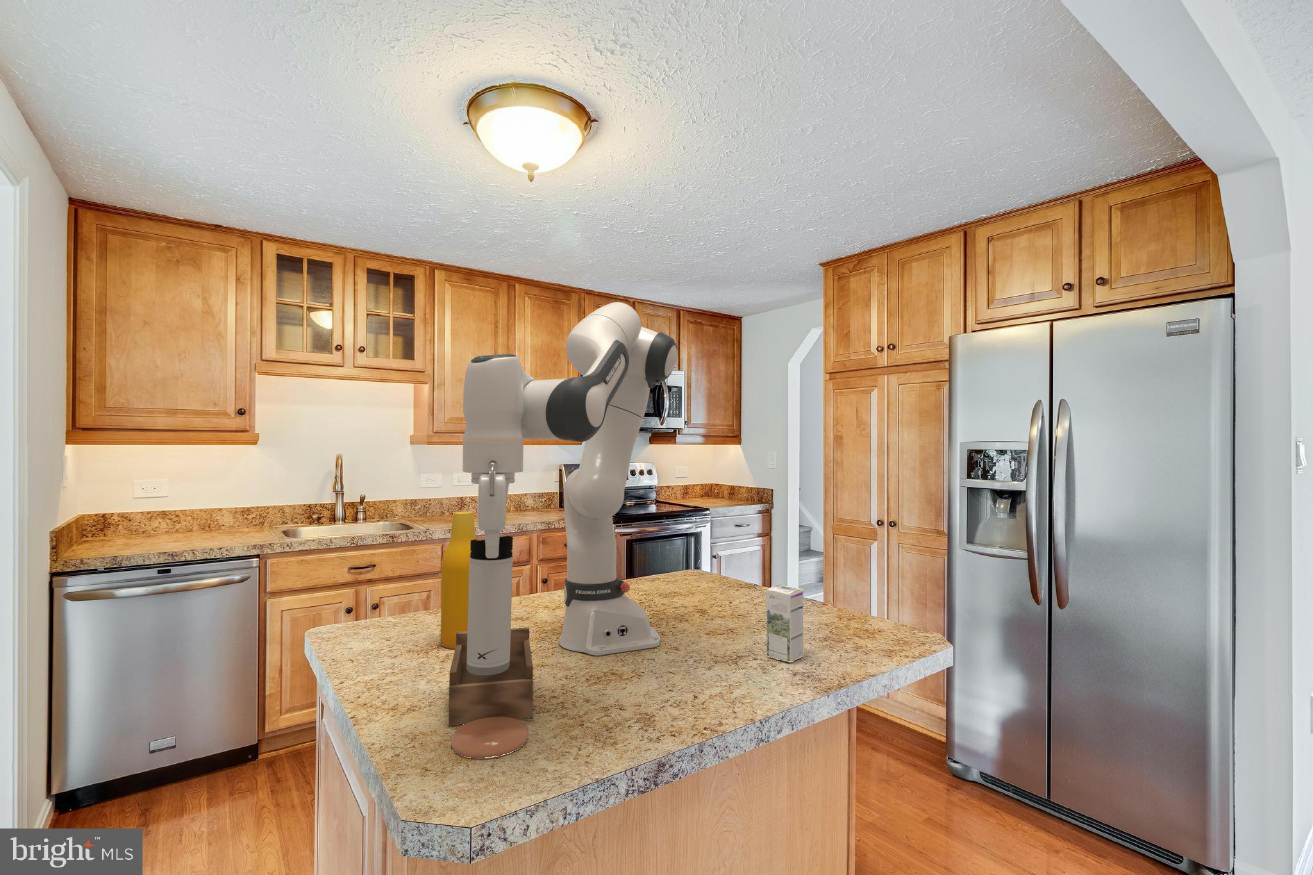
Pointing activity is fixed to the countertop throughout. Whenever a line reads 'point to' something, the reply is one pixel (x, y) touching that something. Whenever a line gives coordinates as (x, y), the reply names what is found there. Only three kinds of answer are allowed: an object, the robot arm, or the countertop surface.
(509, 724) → the saucer
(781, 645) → the syrup box
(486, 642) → the travel mug
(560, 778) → the countertop surface
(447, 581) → the beer bottle
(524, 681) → the frame
